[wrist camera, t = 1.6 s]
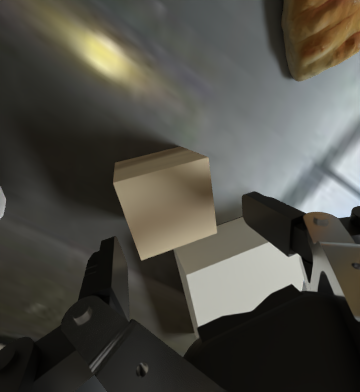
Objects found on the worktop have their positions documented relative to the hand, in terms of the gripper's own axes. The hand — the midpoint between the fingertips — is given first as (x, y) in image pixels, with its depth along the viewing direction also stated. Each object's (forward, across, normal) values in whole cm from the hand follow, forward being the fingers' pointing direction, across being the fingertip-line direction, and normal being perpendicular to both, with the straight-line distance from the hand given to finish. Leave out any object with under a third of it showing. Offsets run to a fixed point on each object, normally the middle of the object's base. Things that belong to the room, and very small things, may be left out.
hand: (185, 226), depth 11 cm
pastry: (+8, -16, -11) cm, 21 cm away
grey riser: (+8, -7, +16) cm, 19 cm away
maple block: (+8, 0, 0) cm, 8 cm away
